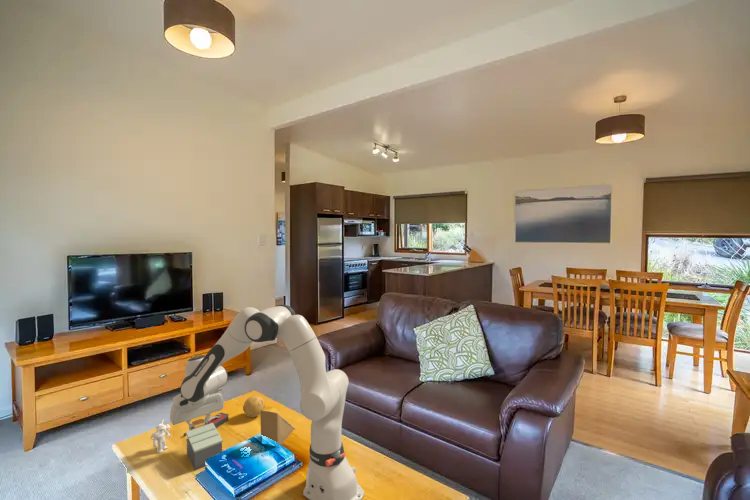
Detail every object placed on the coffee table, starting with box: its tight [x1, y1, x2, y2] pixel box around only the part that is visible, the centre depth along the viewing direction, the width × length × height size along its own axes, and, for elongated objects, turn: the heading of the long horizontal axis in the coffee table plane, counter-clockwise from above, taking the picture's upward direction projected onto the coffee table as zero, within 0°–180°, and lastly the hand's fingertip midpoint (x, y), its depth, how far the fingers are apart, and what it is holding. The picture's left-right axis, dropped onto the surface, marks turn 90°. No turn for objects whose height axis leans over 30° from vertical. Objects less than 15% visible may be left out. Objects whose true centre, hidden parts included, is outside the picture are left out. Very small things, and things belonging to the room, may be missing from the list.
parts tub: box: [186, 438, 223, 471], centre depth 141 cm, size 12×10×7 cm
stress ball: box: [242, 395, 266, 418], centre depth 173 cm, size 10×10×10 cm
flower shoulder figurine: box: [150, 418, 172, 454], centre depth 146 cm, size 9×4×12 cm, turn 169°
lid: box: [185, 418, 223, 453], centre depth 143 cm, size 16×10×3 cm, turn 42°
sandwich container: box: [259, 410, 296, 445], centre depth 156 cm, size 9×15×15 cm, turn 163°
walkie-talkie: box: [183, 411, 230, 436], centre depth 163 cm, size 9×4×20 cm
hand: (198, 426), depth 147 cm, fingers closed on lid, 4 cm apart
